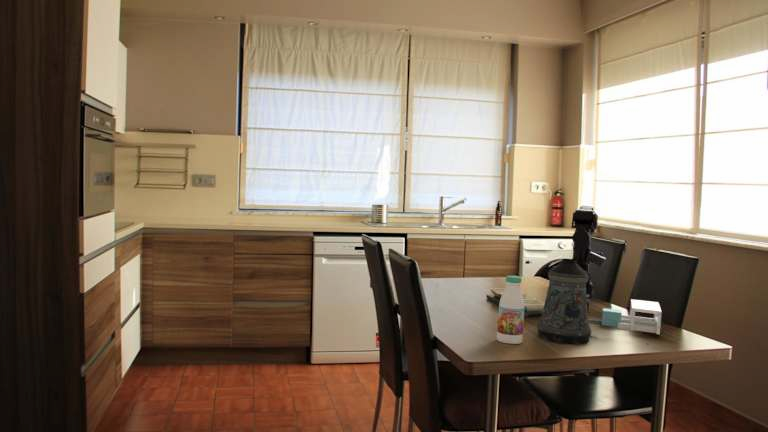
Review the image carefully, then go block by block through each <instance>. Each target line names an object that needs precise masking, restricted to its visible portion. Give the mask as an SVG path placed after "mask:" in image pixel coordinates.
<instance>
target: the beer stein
mask: <svg viewBox="0 0 768 432" xmlns="http://www.w3.org/2000/svg"><path fill="white" fill-rule="evenodd" d="M547 275H548V279H549V284H548V287H547V291H546V297H545V300H544V305H543V309H542V312H541V315H540V318H539V321H538V322H537V326H536V327H537V335H538V337H539V339H542V340H544V341H547V342H550V343H555V344H561V345H568V346H569V345H573V346H578V345H579V346H581V345H586V344H588V343H590V339H591V335H592V329H591V325H590V322H589V321H588V319H589V315H588V314H589V313H588V312H589V311H587V297H586V283H587V282H588V279H589V276H588V275H587V273H586V272H585V271H584V270H583V269H582V268H581V267H580V266H579V265H578V264H577V262H576V260H573V259H572V258H562V259H561V261H560V262H559V263H558V264H556V265H555V266H553V268H551V269H550V270H549V271H548V273H547Z"/></svg>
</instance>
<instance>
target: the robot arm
mask: <svg viewBox="0 0 768 432" xmlns="http://www.w3.org/2000/svg"><path fill="white" fill-rule="evenodd" d="M594 209H595V208H594V207H593V206H591V205H590V206H589V205H581V206H580V207H579V208H578V209H577V208H576V209H574V210H575V211H573V212H572V219H571V226H570V227H571V228H570V229H575V230H574V233H573V234H572V243H573V246H572V258H571V259H573V260H576V262H577V264H578V265H579V266H580V267H581V268H582V269H583V270H584V271H585V272H586V273H587V275H588V276H589V279H588V282H587V283H586V297H587V312H590V301H589V299H590V300H591V299H593V298H594V289H595V288H594V285H593V283H592V282H591V276H590V273H589V268H590V267H591V263H592V264H595V265H597V266H598V267H601V268H602V267H603V266H604V264H605V262H606V260H607V257H605V256H604V254H603V252H600V251H598V252H597V253H595V252H593V251H592V248H591V239H593V237H595V235H596V230H598V222H599V221H598V220H599V218H598V217H599V216H598V214H597V213H596V212H595V210H594Z"/></svg>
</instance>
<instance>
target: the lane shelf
mask: <svg viewBox="0 0 768 432" xmlns="http://www.w3.org/2000/svg"><path fill="white" fill-rule="evenodd" d="M629 309H630V310H629V315H627V314H621V323H619V322H618V327H617V329H619V330H621V329H622V330H628V331H631V332H634V331H636V332H645V333H652V334H656V335H660V334H661V324H662V313H663V311H662V309H661V305H660V303H659V301H651V300H642V299H632V298H631V299H630V307H629ZM636 312H637V313H639V312H640V313H647V314H653V317H643V316H636Z"/></svg>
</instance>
